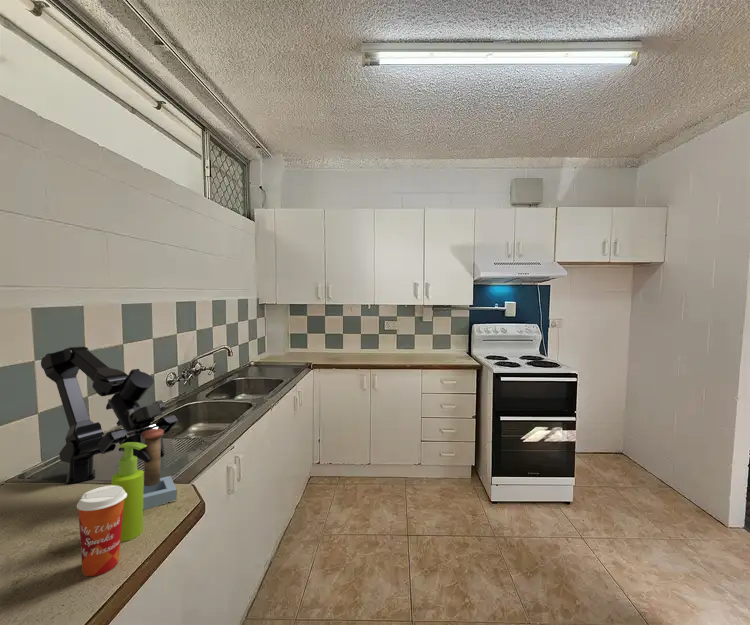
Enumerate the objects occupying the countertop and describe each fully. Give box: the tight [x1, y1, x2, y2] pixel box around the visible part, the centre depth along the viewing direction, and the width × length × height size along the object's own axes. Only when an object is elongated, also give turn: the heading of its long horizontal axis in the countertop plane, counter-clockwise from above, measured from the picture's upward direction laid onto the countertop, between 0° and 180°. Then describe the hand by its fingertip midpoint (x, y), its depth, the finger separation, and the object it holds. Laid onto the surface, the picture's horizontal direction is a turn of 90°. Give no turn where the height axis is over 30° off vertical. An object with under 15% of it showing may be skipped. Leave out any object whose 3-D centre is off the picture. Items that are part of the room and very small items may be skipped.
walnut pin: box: [141, 429, 165, 486], centre depth 97 cm, size 5×5×14 cm
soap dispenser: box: [111, 442, 147, 543], centre depth 81 cm, size 6×7×20 cm
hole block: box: [143, 475, 178, 511], centre depth 97 cm, size 10×10×3 cm
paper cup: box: [76, 484, 127, 577], centre depth 71 cm, size 8×8×14 cm
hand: (156, 458), depth 96 cm, fingers closed on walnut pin, 4 cm apart
